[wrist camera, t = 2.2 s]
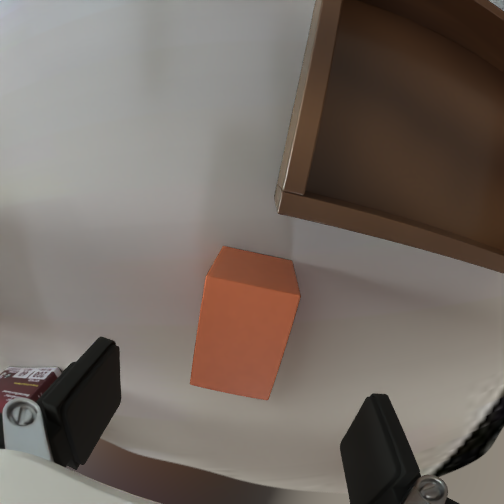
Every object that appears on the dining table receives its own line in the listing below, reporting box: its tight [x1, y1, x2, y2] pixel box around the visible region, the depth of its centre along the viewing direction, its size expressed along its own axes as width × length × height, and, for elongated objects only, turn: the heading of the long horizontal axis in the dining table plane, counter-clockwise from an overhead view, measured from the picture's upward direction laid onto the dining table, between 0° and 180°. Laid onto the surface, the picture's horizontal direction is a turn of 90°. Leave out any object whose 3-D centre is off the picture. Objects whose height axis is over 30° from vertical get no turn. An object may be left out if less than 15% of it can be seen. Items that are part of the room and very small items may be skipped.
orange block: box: [190, 246, 301, 400], centre depth 16 cm, size 6×4×5 cm, turn 168°
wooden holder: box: [274, 0, 504, 273], centre depth 12 cm, size 14×18×6 cm
